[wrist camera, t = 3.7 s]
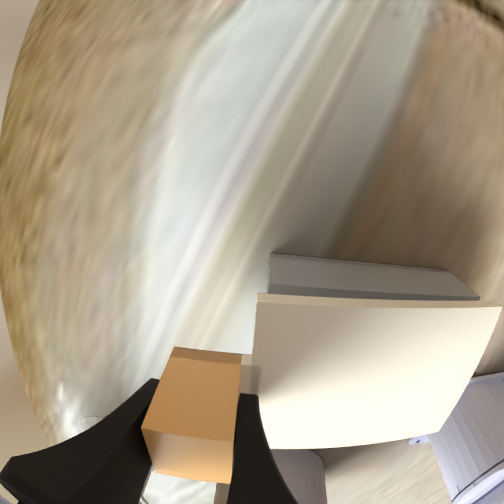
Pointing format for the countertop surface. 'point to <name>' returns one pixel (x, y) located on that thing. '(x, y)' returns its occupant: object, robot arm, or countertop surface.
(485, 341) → the lid
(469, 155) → the countertop surface
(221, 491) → the pillar candle
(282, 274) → the tub
